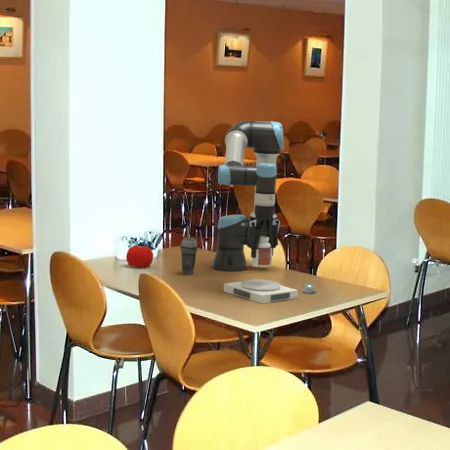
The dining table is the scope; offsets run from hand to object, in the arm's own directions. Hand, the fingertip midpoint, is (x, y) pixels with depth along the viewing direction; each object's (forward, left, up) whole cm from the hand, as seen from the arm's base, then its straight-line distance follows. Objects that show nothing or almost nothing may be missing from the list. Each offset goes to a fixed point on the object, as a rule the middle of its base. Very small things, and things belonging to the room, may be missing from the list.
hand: (261, 265), depth 311 cm
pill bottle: (0, 0, 0) cm, 0 cm away
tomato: (-66, -12, -12) cm, 68 cm away
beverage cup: (-44, -2, -12) cm, 46 cm away
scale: (0, 0, -11) cm, 11 cm away
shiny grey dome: (+6, +20, -12) cm, 24 cm away
